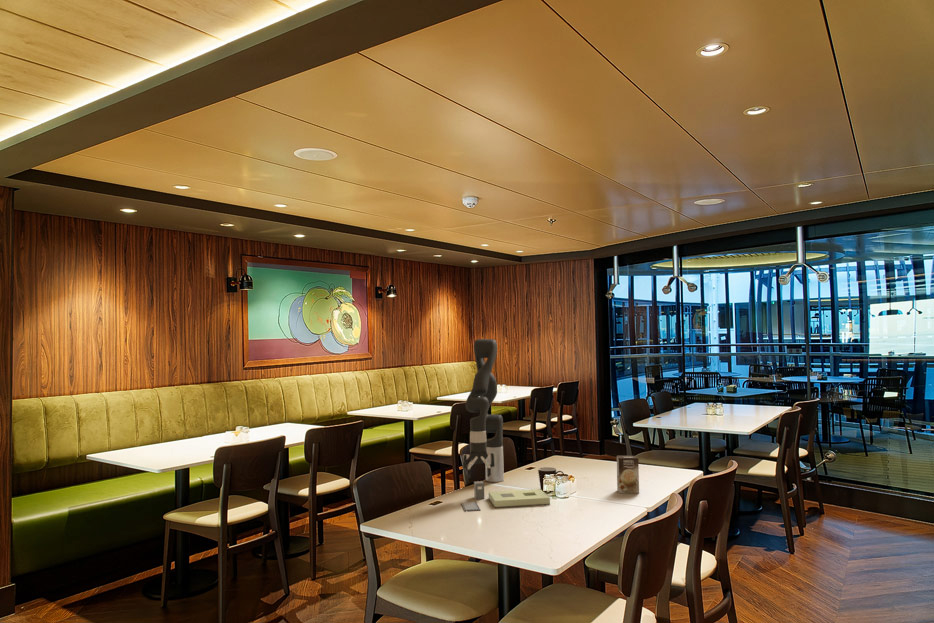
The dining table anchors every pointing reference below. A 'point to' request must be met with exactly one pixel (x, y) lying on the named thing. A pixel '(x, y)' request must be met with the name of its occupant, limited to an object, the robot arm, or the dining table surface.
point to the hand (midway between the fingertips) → (478, 477)
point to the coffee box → (627, 474)
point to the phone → (470, 506)
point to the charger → (479, 490)
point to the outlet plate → (519, 498)
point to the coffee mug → (546, 470)
